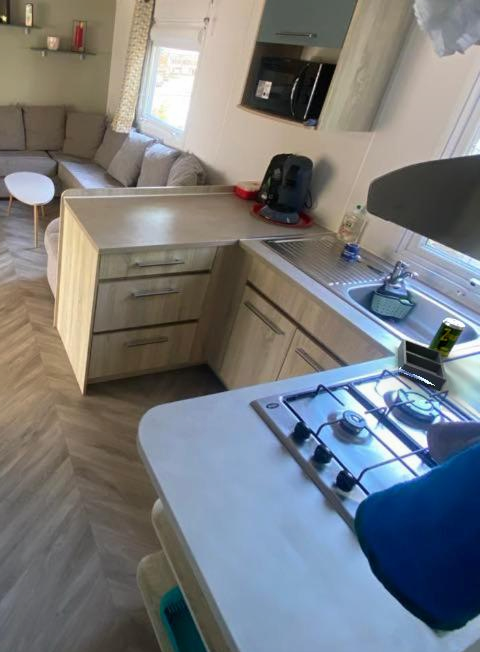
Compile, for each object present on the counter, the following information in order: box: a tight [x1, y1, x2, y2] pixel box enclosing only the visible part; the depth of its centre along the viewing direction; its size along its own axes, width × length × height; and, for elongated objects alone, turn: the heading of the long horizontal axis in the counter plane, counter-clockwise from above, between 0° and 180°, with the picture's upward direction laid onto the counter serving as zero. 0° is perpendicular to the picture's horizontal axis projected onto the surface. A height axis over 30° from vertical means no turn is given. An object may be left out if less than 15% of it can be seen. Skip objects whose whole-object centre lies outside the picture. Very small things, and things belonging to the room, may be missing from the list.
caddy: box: [397, 338, 447, 392], centre depth 125 cm, size 10×17×4 cm, turn 145°
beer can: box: [427, 317, 465, 359], centre depth 133 cm, size 5×5×12 cm
